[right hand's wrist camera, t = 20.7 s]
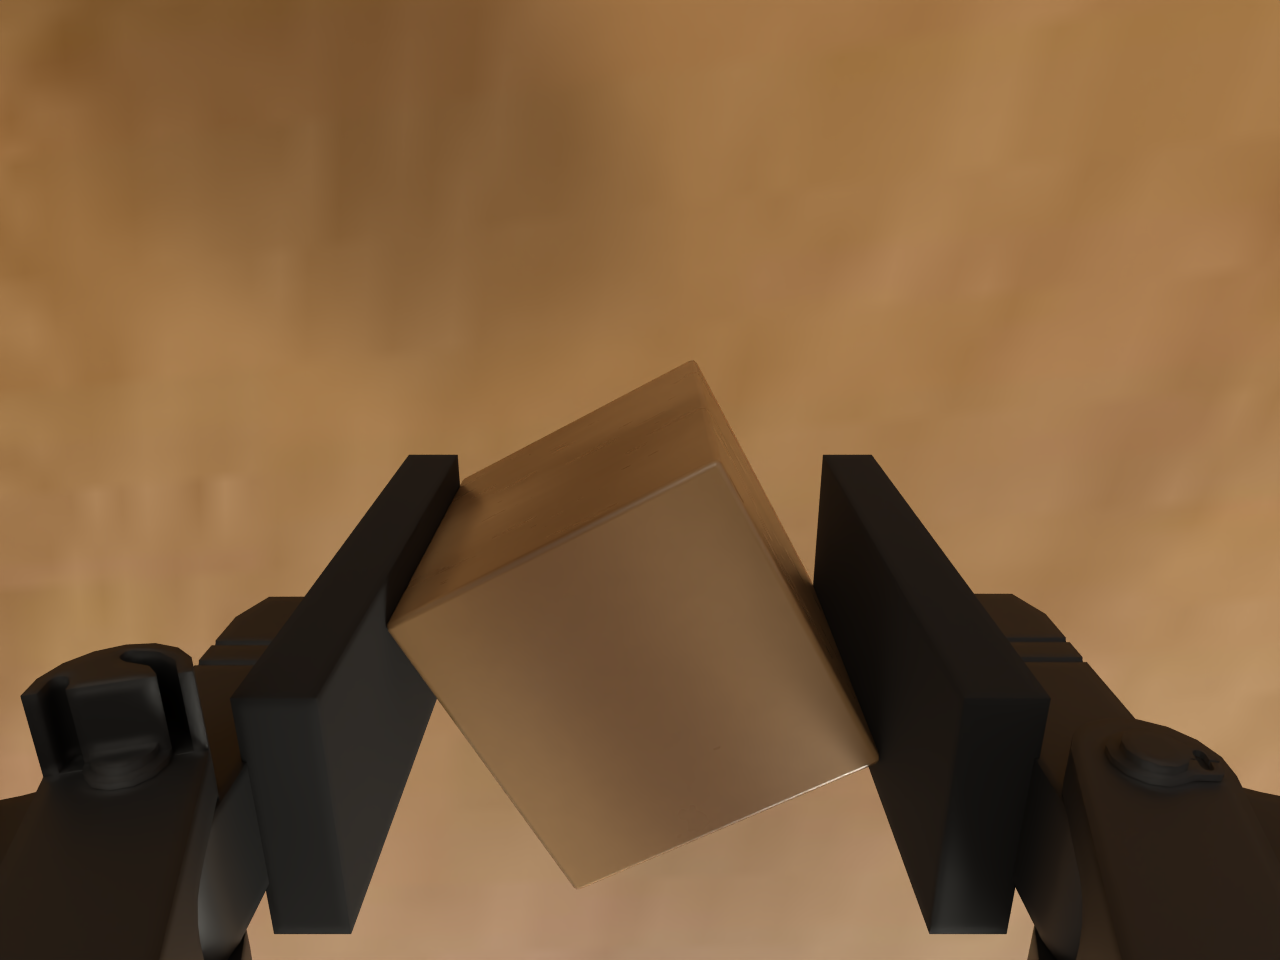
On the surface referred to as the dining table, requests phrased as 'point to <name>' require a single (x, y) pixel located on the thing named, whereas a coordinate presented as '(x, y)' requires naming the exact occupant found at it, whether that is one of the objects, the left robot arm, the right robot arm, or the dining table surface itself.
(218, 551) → the dining table surface
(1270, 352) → the dining table surface
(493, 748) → the block
